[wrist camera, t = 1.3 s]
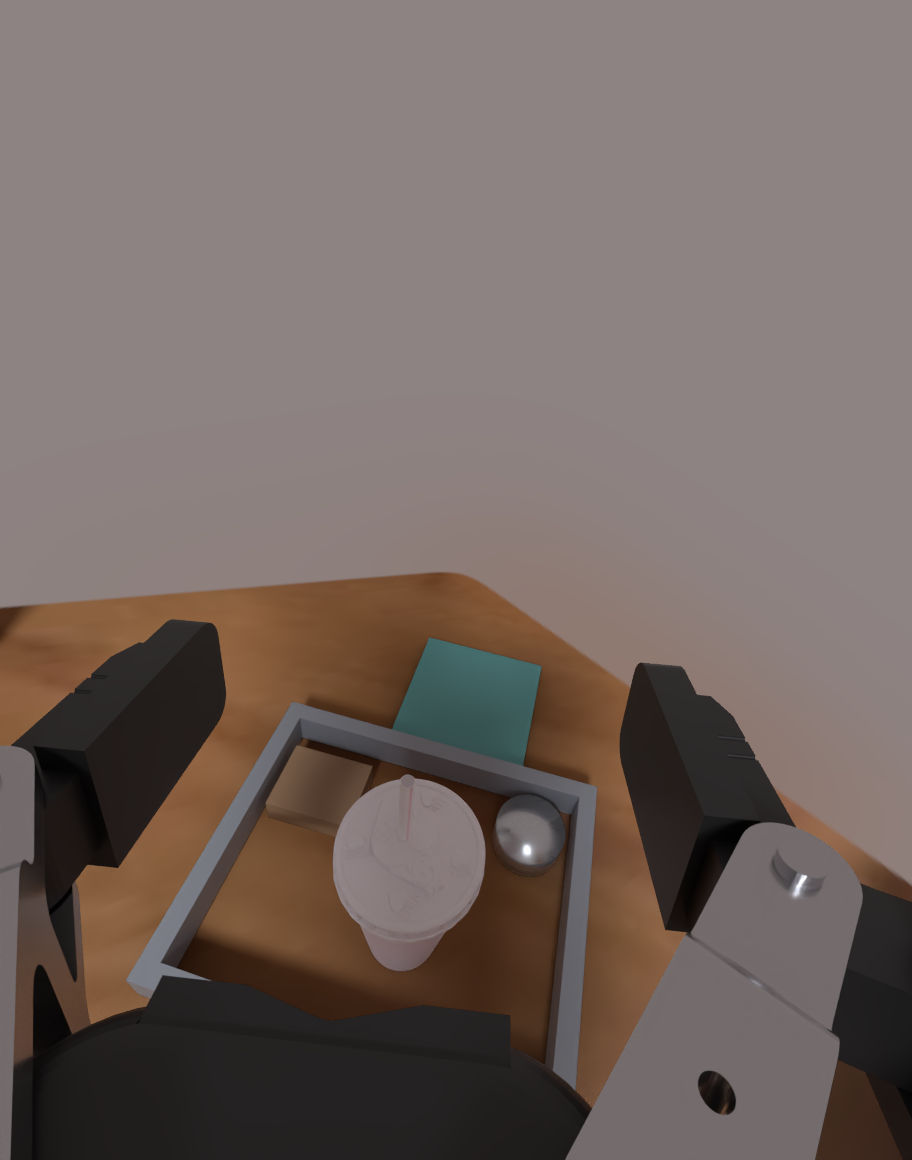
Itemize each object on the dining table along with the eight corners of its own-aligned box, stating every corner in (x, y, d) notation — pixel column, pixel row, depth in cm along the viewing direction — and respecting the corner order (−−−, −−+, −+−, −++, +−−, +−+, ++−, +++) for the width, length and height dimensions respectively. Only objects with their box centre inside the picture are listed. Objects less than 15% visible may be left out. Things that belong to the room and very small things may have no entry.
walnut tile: (269, 820, 34) (265, 803, 33) (299, 762, 37) (296, 745, 36) (348, 843, 33) (347, 827, 32) (372, 783, 36) (372, 766, 35)
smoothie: (422, 845, 33) (441, 696, 24) (487, 951, 29) (538, 822, 20) (319, 909, 30) (296, 766, 21) (377, 1036, 26) (379, 929, 17)
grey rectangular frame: (139, 994, 27) (126, 980, 25) (295, 721, 39) (292, 701, 37) (560, 1147, 24) (571, 1142, 23) (588, 804, 36) (597, 786, 35)
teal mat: (391, 735, 39) (391, 729, 38) (428, 642, 45) (429, 637, 45) (521, 771, 37) (522, 766, 37) (540, 671, 44) (541, 666, 44)
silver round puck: (485, 866, 33) (489, 850, 32) (498, 803, 36) (503, 786, 35) (553, 887, 32) (561, 872, 31) (561, 821, 35) (568, 805, 34)
